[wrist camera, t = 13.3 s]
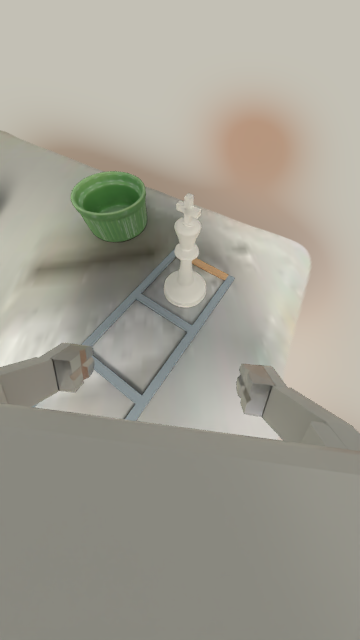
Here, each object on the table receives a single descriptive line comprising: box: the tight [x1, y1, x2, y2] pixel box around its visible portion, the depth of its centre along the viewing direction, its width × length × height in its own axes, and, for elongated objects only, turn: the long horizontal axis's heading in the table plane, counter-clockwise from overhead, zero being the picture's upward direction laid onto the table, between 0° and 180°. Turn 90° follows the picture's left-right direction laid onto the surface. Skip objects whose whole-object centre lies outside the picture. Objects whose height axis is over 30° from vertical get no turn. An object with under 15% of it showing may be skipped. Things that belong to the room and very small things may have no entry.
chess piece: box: [164, 193, 206, 308], centre depth 15 cm, size 5×5×10 cm
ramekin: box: [71, 171, 147, 242], centre depth 23 cm, size 9×9×4 cm
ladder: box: [32, 249, 235, 421], centre depth 15 cm, size 9×33×1 cm, turn 145°
